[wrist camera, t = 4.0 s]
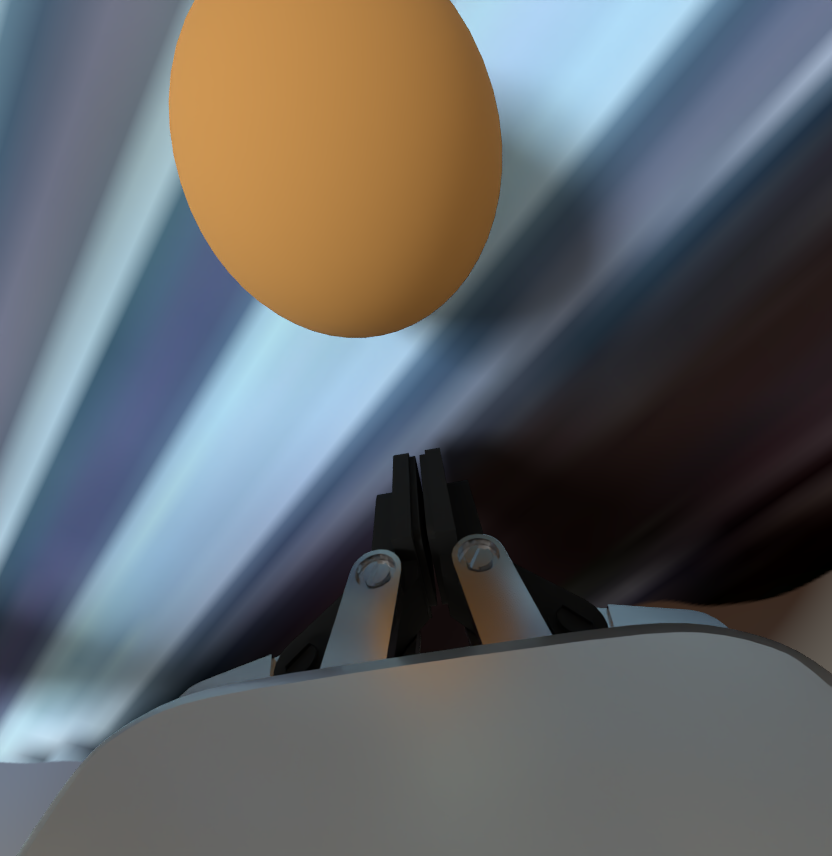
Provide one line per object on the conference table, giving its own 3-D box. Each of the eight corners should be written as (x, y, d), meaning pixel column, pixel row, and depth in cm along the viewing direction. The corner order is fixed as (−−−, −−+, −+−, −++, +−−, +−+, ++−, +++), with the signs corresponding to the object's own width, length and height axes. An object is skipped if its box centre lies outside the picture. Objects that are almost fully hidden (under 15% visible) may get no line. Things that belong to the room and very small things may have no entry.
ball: (296, 329, 11) (206, 406, 6) (211, 83, 8) (-106, -188, 3) (480, 291, 11) (556, 338, 6) (455, 23, 8) (561, -383, 3)
